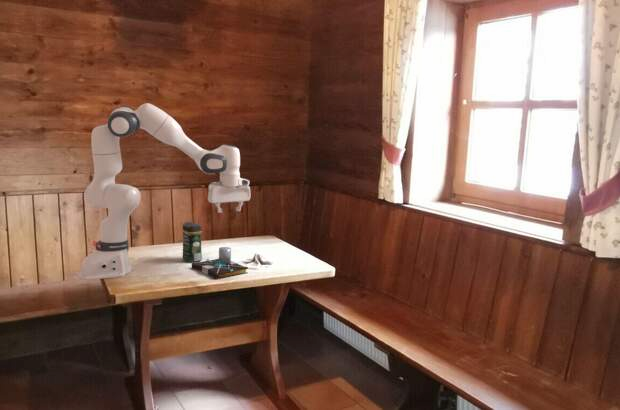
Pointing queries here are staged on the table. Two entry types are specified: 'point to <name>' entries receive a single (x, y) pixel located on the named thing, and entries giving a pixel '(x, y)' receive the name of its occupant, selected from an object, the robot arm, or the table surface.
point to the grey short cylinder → (225, 255)
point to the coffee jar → (192, 242)
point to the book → (219, 268)
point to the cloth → (257, 261)
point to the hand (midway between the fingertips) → (229, 211)
